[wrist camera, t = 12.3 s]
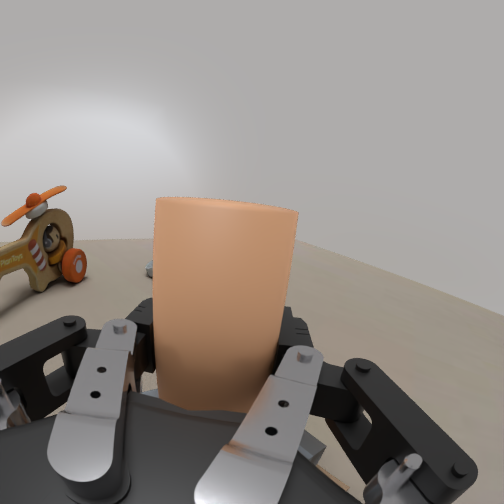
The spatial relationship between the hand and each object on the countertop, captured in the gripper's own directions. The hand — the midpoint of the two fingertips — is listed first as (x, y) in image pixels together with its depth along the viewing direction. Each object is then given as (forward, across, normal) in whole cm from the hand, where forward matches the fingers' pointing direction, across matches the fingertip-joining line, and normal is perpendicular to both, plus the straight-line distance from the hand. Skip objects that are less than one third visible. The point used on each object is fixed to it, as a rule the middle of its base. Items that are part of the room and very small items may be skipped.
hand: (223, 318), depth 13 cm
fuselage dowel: (-3, 0, +7) cm, 7 cm away
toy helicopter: (+14, +27, +9) cm, 32 cm away
